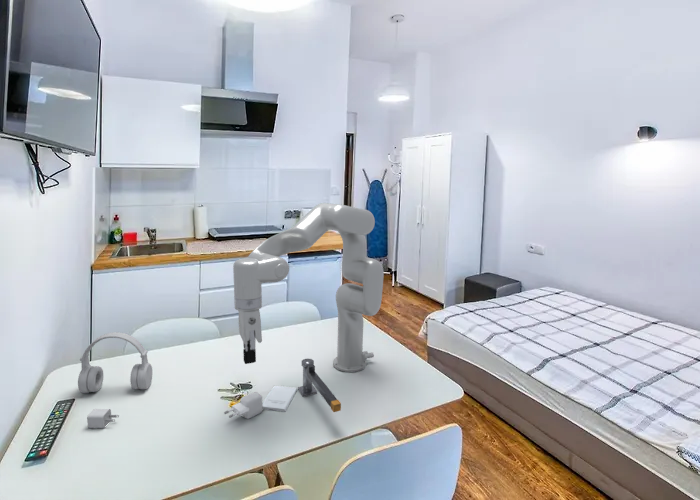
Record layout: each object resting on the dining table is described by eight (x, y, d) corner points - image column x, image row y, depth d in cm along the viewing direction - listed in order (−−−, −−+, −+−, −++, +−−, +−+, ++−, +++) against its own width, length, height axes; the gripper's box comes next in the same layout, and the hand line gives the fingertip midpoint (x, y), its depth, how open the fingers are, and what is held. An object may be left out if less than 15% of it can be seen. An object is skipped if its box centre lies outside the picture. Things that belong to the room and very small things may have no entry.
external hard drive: (297, 392, 135) (285, 413, 123) (273, 389, 136) (259, 410, 124) (297, 387, 135) (285, 408, 123) (273, 385, 136) (259, 405, 124)
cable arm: (299, 370, 134) (299, 359, 134) (311, 368, 136) (311, 357, 135) (330, 413, 111) (330, 400, 111) (343, 409, 113) (344, 397, 112)
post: (312, 386, 138) (312, 361, 136) (317, 393, 134) (317, 367, 132) (297, 389, 136) (298, 363, 134) (302, 396, 131) (302, 370, 130)
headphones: (154, 380, 139) (150, 327, 135) (146, 394, 131) (142, 338, 127) (90, 384, 135) (84, 330, 132) (78, 398, 127) (71, 341, 123)
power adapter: (231, 429, 114) (231, 410, 113) (222, 422, 117) (221, 403, 116) (264, 413, 122) (264, 395, 121) (255, 406, 125) (254, 389, 124)
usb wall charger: (96, 420, 117) (95, 407, 116) (121, 420, 117) (119, 407, 116) (88, 429, 113) (86, 416, 112) (113, 429, 113) (112, 416, 112)
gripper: (267, 308, 110) (268, 371, 113) (255, 293, 123) (257, 349, 127) (239, 312, 107) (241, 376, 110) (230, 295, 120) (232, 353, 123)
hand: (249, 361), depth 118 cm, fingers closed
